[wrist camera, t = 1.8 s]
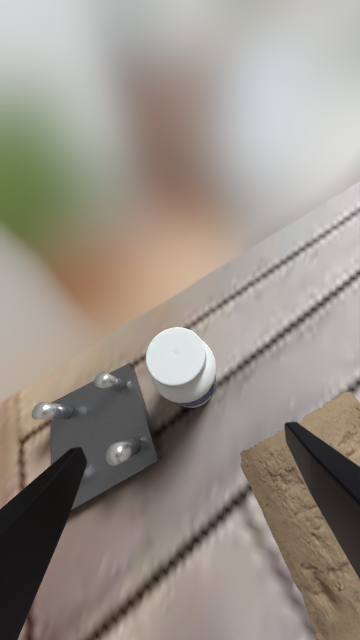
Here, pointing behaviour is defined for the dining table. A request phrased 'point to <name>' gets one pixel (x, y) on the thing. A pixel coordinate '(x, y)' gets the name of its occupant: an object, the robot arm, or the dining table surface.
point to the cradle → (103, 430)
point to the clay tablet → (310, 519)
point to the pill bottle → (181, 367)
